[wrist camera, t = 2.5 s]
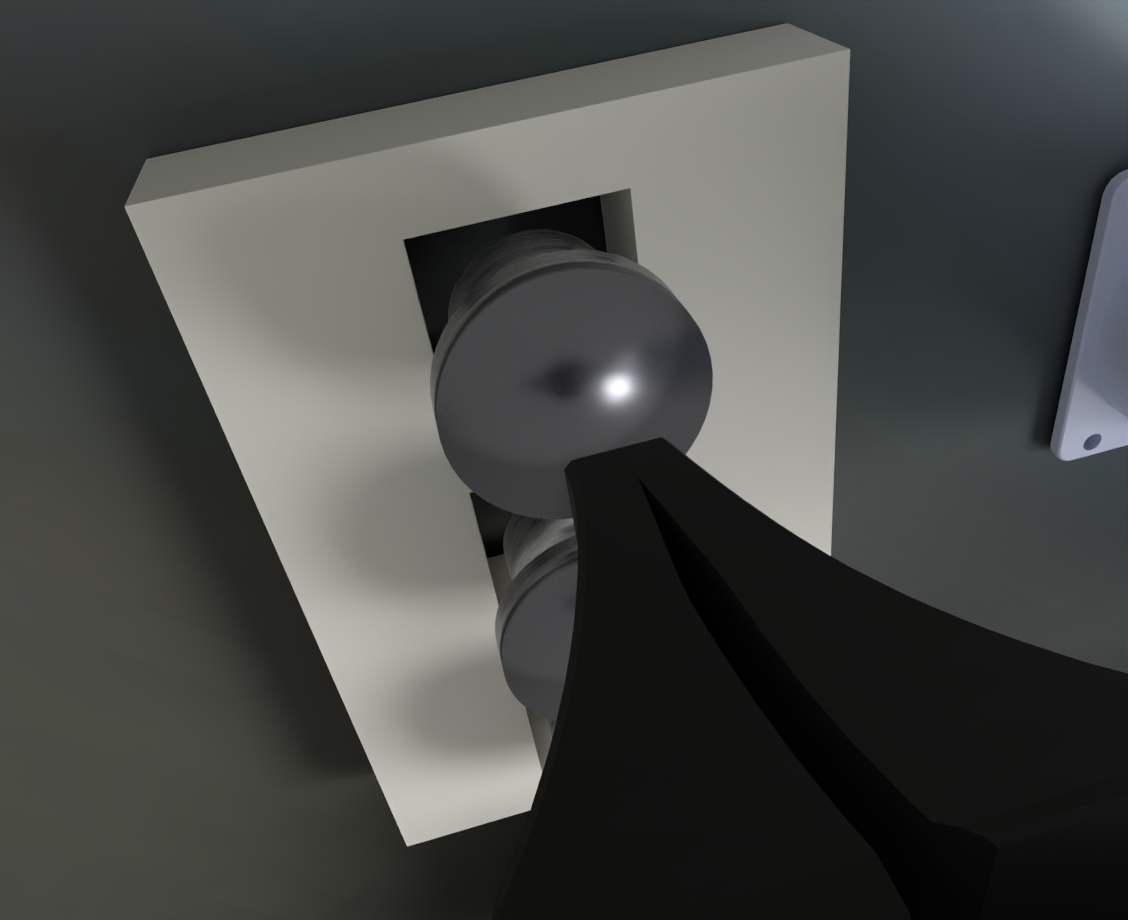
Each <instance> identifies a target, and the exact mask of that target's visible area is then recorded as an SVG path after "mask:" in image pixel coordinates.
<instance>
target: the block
mask: <svg viewBox="0 0 1128 920" xmlns="http://www.w3.org/2000/svg"><path fill="white" fill-rule="evenodd" d="M849 69H850V49H849V48H846V47H844V46H841V45H839V44H837V43H834V42H832V41H829V40H827V39H825V38H822V37H820V36H817V35H815V34H813V33H810V32H808V31H805V30H803V29H801V28H798V27H796V26H793V25H791V24H789V23H786V24H781V25H776V26H771V27H767V28H762V29H757V30H752V31H748V32H743V33H738V34H734V35H729V36H724V37H719V38H715V39H710V40H705V41H701V42H696V43H691V44H686V45H682V46H677V47H672V48H668V49H663V50H658V51H653V52H649V53H644V54H639V55H635V56H630V57H625V58H620V59H616V60H611V61H606V62H602V63H597V64H592V65H587V66H583V67H578V68H573V69H569V70H564V71H559V72H554V73H550V74H545V75H540V76H536V77H531V78H526V79H521V80H517V81H512V82H507V83H503V84H498V85H493V86H488V87H484V88H479V89H474V90H470V91H465V92H460V93H455V94H451V95H446V96H441V97H437V98H432V99H427V100H422V101H418V102H413V103H408V104H404V105H399V106H394V107H389V108H385V109H380V110H375V111H371V112H366V113H361V114H356V115H352V116H347V117H342V118H338V119H333V120H328V121H323V122H319V123H314V124H309V125H305V126H300V127H295V128H290V129H286V130H281V131H276V132H272V133H267V134H262V135H257V136H253V137H248V138H243V139H239V140H234V141H229V142H224V143H220V144H215V145H210V146H206V147H201V148H196V149H191V150H187V151H182V152H177V153H173V154H168V155H163V156H158V157H154V158H149V159H146V161H145V163H144V165H143V168H142V170H141V172H140V174H139V176H138V178H137V180H136V183H135V185H134V187H133V189H132V191H131V193H130V195H129V198H128V200H127V202H126V204H125V206H124V207H125V209H126V211H127V214H128V216H129V218H130V220H131V223H132V225H133V227H134V230H135V232H136V234H137V236H138V239H139V241H140V243H141V245H142V248H143V250H144V252H145V254H146V257H147V259H148V261H149V263H150V266H151V268H152V270H153V273H154V275H155V277H156V279H157V282H158V284H159V286H160V288H161V291H162V293H163V295H164V297H165V300H166V302H167V304H168V307H169V309H170V311H171V313H172V316H173V318H174V320H175V322H176V325H177V327H178V329H179V331H180V334H181V336H182V338H183V340H184V343H185V345H186V347H187V350H188V352H189V354H190V356H191V359H192V361H193V363H194V365H195V368H196V370H197V372H198V374H199V377H200V379H201V381H202V383H203V386H204V388H205V390H206V393H207V395H208V397H209V399H210V402H211V404H212V406H213V408H214V411H215V413H216V415H217V417H218V420H219V422H220V424H221V426H222V429H223V431H224V433H225V436H226V438H227V440H228V442H229V445H230V447H231V449H232V451H233V454H234V456H235V458H236V460H237V463H238V465H239V467H240V469H241V472H242V474H243V476H244V479H245V481H246V483H247V485H248V488H249V490H250V492H251V494H252V497H253V499H254V501H255V503H256V506H257V508H258V510H259V512H260V515H261V517H262V519H263V522H264V524H265V526H266V528H267V531H268V533H269V535H270V537H271V540H272V542H273V544H274V546H275V549H276V551H277V553H278V555H279V558H280V560H281V562H282V565H283V567H284V569H285V571H286V574H287V576H288V578H289V580H290V583H291V585H292V587H293V589H294V592H295V594H296V596H297V598H298V601H299V603H300V605H301V608H302V610H303V612H304V614H305V617H306V619H307V621H308V623H309V626H310V628H311V630H312V632H313V635H314V637H315V639H316V641H317V644H318V646H319V648H320V651H321V653H322V655H323V657H324V660H325V662H326V664H327V666H328V669H329V671H330V673H331V675H332V678H333V680H334V682H335V684H336V687H337V689H338V691H339V694H340V696H341V698H342V700H343V703H344V705H345V707H346V709H347V712H348V714H349V716H350V718H351V721H352V723H353V725H354V727H355V730H356V732H357V734H358V737H359V739H360V741H361V743H362V746H363V748H364V750H365V752H366V755H367V757H368V759H369V761H370V764H371V766H372V768H373V770H374V773H375V775H376V777H377V780H378V782H379V784H380V786H381V789H382V791H383V793H384V795H385V798H386V800H387V802H388V804H389V807H390V809H391V811H392V813H393V816H394V818H395V820H396V823H397V825H398V827H399V829H400V832H401V834H402V836H403V838H404V841H405V843H406V845H407V847H408V846H411V845H414V844H418V843H421V842H425V841H428V840H431V839H435V838H438V837H441V836H445V835H448V834H452V833H455V832H458V831H462V830H465V829H469V828H472V827H475V826H479V825H482V824H486V823H489V822H492V821H496V820H499V819H503V818H506V817H509V816H513V815H516V814H519V813H523V812H526V811H530V810H531V807H532V803H533V800H534V797H535V794H536V791H537V787H538V784H539V781H540V778H541V775H542V771H543V768H544V765H545V762H546V759H547V755H548V752H549V748H550V744H551V740H550V736H549V733H548V729H547V725H546V722H545V718H544V717H542V716H539V715H538V714H536V713H534V712H532V711H530V710H529V709H528V708H526V707H525V706H524V705H522V704H521V703H520V702H519V701H518V700H517V698H516V697H515V696H514V695H513V693H512V692H511V690H510V689H509V687H508V684H507V682H506V679H505V676H504V672H503V668H502V663H501V659H500V655H499V651H498V646H497V642H496V636H495V619H496V614H497V610H498V607H499V604H500V601H501V599H502V597H503V595H504V593H505V591H506V589H507V588H508V586H509V585H510V583H511V582H512V580H511V577H510V573H509V570H508V566H507V562H506V559H505V555H504V554H502V555H498V556H495V557H491V558H487V556H486V552H485V548H484V544H483V541H482V537H481V533H480V529H479V525H478V521H477V518H476V514H475V510H474V506H473V502H472V498H471V495H470V493H471V492H473V491H472V490H471V489H470V488H469V487H468V486H467V485H465V484H464V483H463V482H462V480H461V479H460V478H459V477H458V475H457V474H456V473H455V471H454V470H453V469H452V467H451V465H450V463H449V461H448V460H447V458H446V456H445V453H444V451H443V448H442V445H441V442H440V438H439V434H438V429H437V425H436V420H435V416H434V411H433V406H432V401H431V395H430V375H431V366H432V361H433V357H434V353H433V349H432V345H431V341H430V338H429V334H428V330H427V326H426V322H425V318H424V315H423V311H422V307H421V303H420V299H419V295H418V292H417V288H416V284H415V280H414V276H413V272H412V269H411V265H410V261H409V257H408V253H407V249H406V246H405V242H404V239H408V238H413V237H417V236H421V235H426V234H430V233H435V232H439V231H444V230H448V229H452V228H457V227H461V226H466V225H470V224H474V223H479V222H483V221H488V220H492V219H496V218H501V217H505V216H510V215H514V214H518V213H523V212H527V211H532V210H536V209H540V208H545V207H549V206H554V205H558V204H562V203H567V202H571V201H576V200H580V199H584V198H589V197H593V196H598V195H600V200H601V208H602V216H603V224H604V233H605V241H606V249H607V253H611V254H615V255H619V256H621V257H624V258H627V259H629V260H632V261H634V262H636V263H638V264H639V265H641V266H643V267H645V268H647V269H648V270H650V271H651V272H652V273H653V274H655V275H656V276H657V277H659V278H660V279H661V280H662V281H663V282H664V283H665V284H666V285H667V286H668V287H669V288H670V290H671V291H672V292H673V293H674V294H675V296H676V297H677V298H678V299H679V301H680V302H681V303H682V305H683V306H684V307H685V308H686V310H687V311H688V312H689V313H690V315H691V316H692V318H693V319H694V321H695V322H696V323H697V325H698V326H699V328H700V330H701V332H702V334H703V336H704V338H705V340H706V343H707V346H708V350H709V353H710V356H711V363H712V371H713V388H712V395H711V401H710V406H709V409H708V412H707V416H706V419H705V421H704V424H703V426H702V428H701V430H700V433H699V435H698V436H697V438H696V440H695V441H694V443H693V445H692V446H691V448H690V449H689V451H688V452H687V453H686V456H688V457H689V458H690V459H691V460H693V461H694V462H695V463H696V464H698V465H699V466H700V467H701V468H703V469H704V470H705V471H707V472H708V473H709V474H710V475H712V476H713V477H714V478H716V479H717V480H718V481H720V482H721V483H722V484H724V485H725V486H726V487H728V488H729V489H730V490H732V491H733V492H734V493H736V494H737V495H738V496H740V497H741V498H743V499H744V500H745V501H747V502H748V503H750V504H751V505H753V506H754V507H755V508H757V509H758V510H760V511H761V512H763V513H764V514H766V515H767V516H768V517H770V518H771V519H773V520H774V521H776V522H777V523H778V524H780V525H782V526H783V527H785V528H786V529H788V530H789V531H791V532H792V533H794V534H795V535H797V536H798V537H800V538H802V539H803V540H805V541H807V542H808V543H810V544H812V545H813V546H815V547H816V548H818V549H820V550H821V551H823V552H825V553H826V554H828V555H830V556H831V535H832V509H833V483H834V458H835V432H836V406H837V380H838V354H839V328H840V302H841V276H842V251H843V225H844V199H845V173H846V147H847V121H848V95H849Z"/></svg>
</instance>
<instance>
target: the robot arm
mask: <svg viewBox="0 0 1128 920" xmlns="http://www.w3.org/2000/svg"><path fill="white" fill-rule="evenodd" d="M1126 445H1128V169H1127V170H1125V171H1122V172H1120V173H1118V174H1117V175H1116V176H1115V177H1114V178H1112V179H1111V180H1110V182H1109V183H1108V185H1107V186H1106V188H1105V190H1104V193H1103V196H1102V200H1101V205H1100V210H1099V215H1098V219H1097V224H1096V229H1095V234H1094V238H1093V243H1092V248H1091V253H1090V258H1089V262H1088V267H1087V272H1086V277H1085V281H1084V286H1083V291H1082V296H1081V300H1080V305H1079V310H1078V315H1077V320H1076V324H1075V329H1074V334H1073V339H1072V343H1071V348H1070V353H1069V358H1068V363H1067V367H1066V372H1065V377H1064V382H1063V386H1062V391H1061V396H1060V401H1059V405H1058V410H1057V415H1056V420H1055V425H1054V429H1053V434H1052V439H1051V444H1050V450H1051V451H1052V452H1053V454H1055V455H1056V456H1057V457H1058V458H1059V459H1061V460H1064V461H1070V460H1074V459H1078V458H1082V457H1085V456H1089V455H1093V454H1097V453H1100V452H1104V451H1108V450H1111V449H1115V448H1119V447H1122V446H1126ZM564 472H565V478H566V483H567V489H568V494H569V500H570V505H571V511H572V517H573V522H574V528H575V533H576V539H577V544H578V576H577V590H576V602H575V615H574V626H573V633H572V641H571V648H570V655H569V661H568V667H567V672H566V678H565V683H564V688H563V693H562V697H561V702H560V706H559V711H558V715H557V720H556V724H555V729H554V733H553V736H552V740H551V744H550V748H549V752H548V755H547V759H546V762H545V765H544V768H543V771H542V775H541V778H540V781H539V784H538V787H537V791H536V794H535V797H534V800H533V803H532V807H531V810H530V813H529V816H528V819H527V822H526V825H525V827H524V830H523V833H522V836H521V838H520V841H519V843H518V846H517V848H516V851H515V853H514V856H513V858H512V861H511V863H510V866H509V868H508V871H507V873H506V876H505V879H504V881H503V884H502V886H501V889H500V891H499V894H498V896H497V899H496V901H495V904H494V908H493V918H492V920H1128V674H1127V673H1124V672H1120V671H1116V670H1112V669H1108V668H1105V667H1101V666H1097V665H1093V664H1090V663H1087V662H1083V661H1080V660H1077V659H1074V658H1070V657H1067V656H1064V655H1061V654H1058V653H1055V652H1052V651H1049V650H1046V649H1043V648H1040V647H1037V646H1034V645H1031V644H1027V643H1024V642H1021V641H1019V640H1016V639H1013V638H1010V637H1008V636H1005V635H1002V634H999V633H997V632H994V631H991V630H988V629H986V628H983V627H980V626H978V625H975V624H973V623H971V622H968V621H966V620H963V619H961V618H958V617H956V616H953V615H951V614H949V613H946V612H944V611H941V610H939V609H936V608H934V607H931V606H929V605H927V604H925V603H922V602H920V601H918V600H916V599H913V598H911V597H909V596H907V595H905V594H902V593H900V592H898V591H896V590H894V589H892V588H890V587H888V586H886V585H884V584H882V583H880V582H878V581H876V580H874V579H872V578H870V577H868V576H866V575H864V574H862V573H860V572H858V571H856V570H854V569H852V568H851V567H849V566H847V565H845V564H844V563H842V562H840V561H838V560H837V559H835V558H833V557H831V556H830V555H828V554H826V553H825V552H823V551H821V550H820V549H818V548H816V547H815V546H813V545H812V544H810V543H808V542H807V541H805V540H803V539H802V538H800V537H798V536H797V535H795V534H794V533H792V532H791V531H789V530H788V529H786V528H785V527H783V526H782V525H780V524H778V523H777V522H776V521H774V520H773V519H771V518H770V517H768V516H767V515H766V514H764V513H763V512H761V511H760V510H758V509H757V508H755V507H754V506H753V505H751V504H750V503H748V502H747V501H745V500H744V499H743V498H741V497H740V496H738V495H737V494H736V493H734V492H733V491H732V490H730V489H729V488H728V487H726V486H725V485H724V484H722V483H721V482H720V481H718V480H717V479H716V478H714V477H713V476H712V475H710V474H709V473H708V472H707V471H705V470H704V469H703V468H701V467H700V466H699V465H698V464H696V463H695V462H694V461H693V460H691V459H690V458H689V457H688V456H686V455H685V454H684V453H683V452H681V451H680V450H679V449H678V448H676V447H675V446H674V445H673V444H672V443H670V442H669V441H667V440H666V439H664V438H662V437H659V438H656V439H652V440H648V441H644V442H640V443H636V444H632V445H628V446H625V447H621V448H617V449H613V450H609V451H605V452H601V453H597V454H594V455H590V456H586V457H582V458H578V459H574V460H571V461H570V463H569V464H568V465H567V466H566V468H565V469H564Z"/></svg>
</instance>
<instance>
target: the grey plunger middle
mask: <svg viewBox="0 0 1128 920" xmlns="http://www.w3.org/2000/svg"><path fill="white" fill-rule="evenodd" d="M503 549H504V555H505V559H506V562H507V566H508V570H509V573H510V577H511V580H512V582H511V583H510V585H509V586H508V588H507V589H506V591H505V593H504V595H503V597H502V599H501V601H500V604H499V607H498V610H497V614H496V619H495V636H496V642H497V646H498V651H499V655H500V659H501V663H502V668H503V672H504V676H505V679H506V682H507V684H508V687H509V689H510V690H511V692H512V693H513V695H514V696H515V697H516V698H517V700H518V701H519V702H520V703H521V704H522V705H524V706H525V707H526V708H528V709H529V710H530V711H532V712H534V713H536V714H538V715H539V716H542V717H544V718H547V719H550V720H553V721H556V720H557V715H558V711H559V706H560V702H561V697H562V693H563V688H564V683H565V678H566V672H567V667H568V661H569V655H570V648H571V641H572V633H573V626H574V615H575V602H576V590H577V576H578V544H577V539H576V533H575V528H574V522H573V518H570V519H540V518H532V517H527V516H522V515H518V514H514V513H513V514H512V516H511V517H510V519H509V521H508V523H507V526H506V529H505V532H504V538H503Z"/></svg>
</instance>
